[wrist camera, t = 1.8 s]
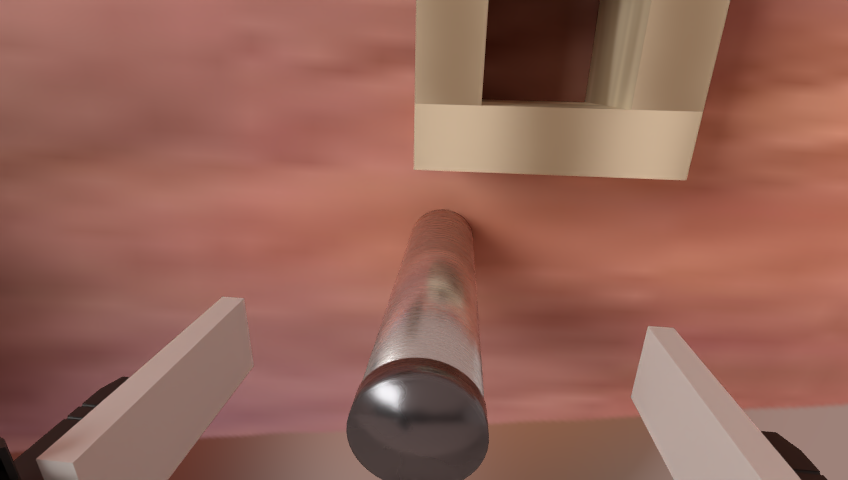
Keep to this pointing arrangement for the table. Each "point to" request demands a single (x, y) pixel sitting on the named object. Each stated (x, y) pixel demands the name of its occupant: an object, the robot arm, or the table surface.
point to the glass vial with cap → (426, 364)
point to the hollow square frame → (570, 121)
